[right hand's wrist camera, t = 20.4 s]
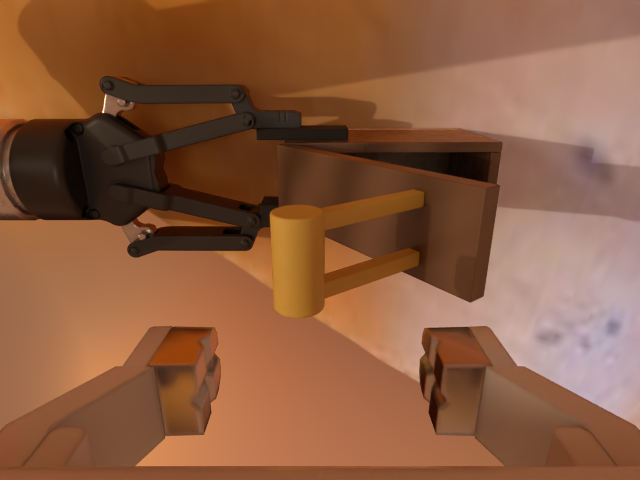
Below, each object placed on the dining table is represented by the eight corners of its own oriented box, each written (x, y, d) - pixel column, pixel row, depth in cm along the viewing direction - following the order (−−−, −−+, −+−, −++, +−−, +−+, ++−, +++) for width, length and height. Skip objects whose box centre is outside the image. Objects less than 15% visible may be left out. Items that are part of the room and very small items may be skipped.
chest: (457, 128, 38) (503, 141, 28) (451, 182, 39) (493, 211, 30) (290, 128, 38) (282, 142, 28) (292, 182, 39) (285, 212, 30)
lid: (500, 184, 16) (330, 224, 12) (483, 296, 18) (329, 369, 13) (288, 143, 28) (161, 155, 24) (290, 213, 30) (172, 237, 25)
